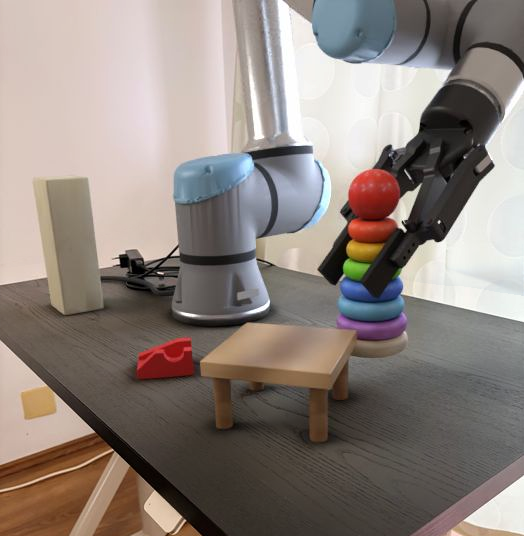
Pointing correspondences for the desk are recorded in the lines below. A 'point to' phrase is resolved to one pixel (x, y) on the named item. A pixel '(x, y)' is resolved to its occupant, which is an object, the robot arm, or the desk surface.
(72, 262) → the white rectangular block
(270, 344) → the stool
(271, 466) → the desk surface
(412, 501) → the desk surface
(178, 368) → the red notched block
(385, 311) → the stacking toy
